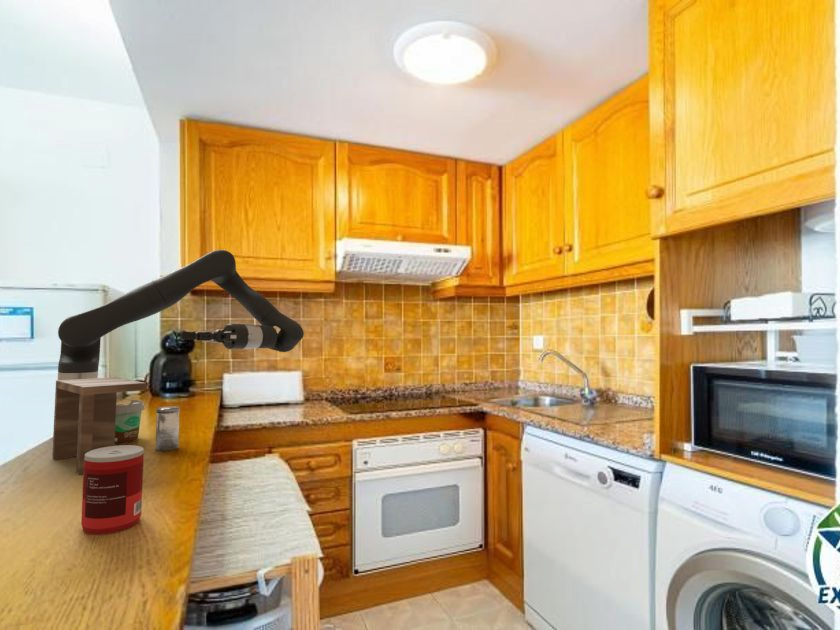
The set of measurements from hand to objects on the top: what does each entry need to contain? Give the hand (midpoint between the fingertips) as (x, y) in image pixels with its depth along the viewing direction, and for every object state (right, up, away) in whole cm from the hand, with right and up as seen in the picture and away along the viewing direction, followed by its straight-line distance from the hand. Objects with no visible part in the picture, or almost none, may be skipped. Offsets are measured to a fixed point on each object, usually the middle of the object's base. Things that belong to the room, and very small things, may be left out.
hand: (188, 336), depth 127 cm
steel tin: (0, -28, -10) cm, 29 cm away
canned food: (+16, -26, -56) cm, 64 cm away
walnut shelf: (-9, -27, -22) cm, 36 cm away
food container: (-15, -28, -3) cm, 32 cm away
